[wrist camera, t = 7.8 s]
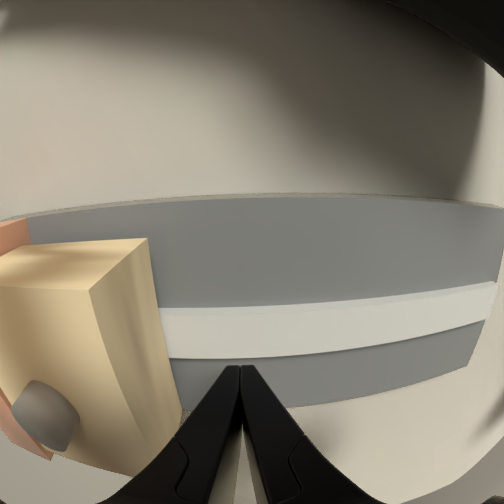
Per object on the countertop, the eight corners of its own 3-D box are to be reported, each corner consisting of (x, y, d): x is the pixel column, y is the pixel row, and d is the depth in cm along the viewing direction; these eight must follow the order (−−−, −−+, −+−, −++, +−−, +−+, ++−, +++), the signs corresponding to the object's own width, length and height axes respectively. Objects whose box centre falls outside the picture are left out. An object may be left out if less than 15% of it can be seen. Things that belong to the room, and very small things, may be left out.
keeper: (74, 395, 11) (35, 467, 6) (21, 245, 8) (-68, 296, 3) (182, 410, 11) (166, 507, 6) (147, 237, 9) (57, 320, 4)
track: (56, 372, 13) (11, 441, 7) (9, 217, 10) (-80, 255, 4) (455, 353, 14) (507, 411, 8) (491, 204, 11) (577, 234, 5)
